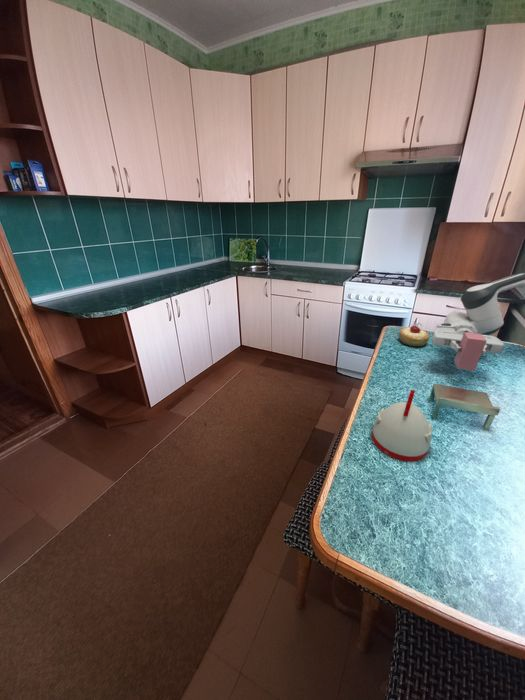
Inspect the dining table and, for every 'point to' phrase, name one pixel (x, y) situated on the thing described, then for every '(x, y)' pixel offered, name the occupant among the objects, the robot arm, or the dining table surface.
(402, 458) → the kitchen timer
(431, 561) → the dining table surface
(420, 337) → the pastry
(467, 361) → the pink carton
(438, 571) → the dining table surface
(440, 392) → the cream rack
